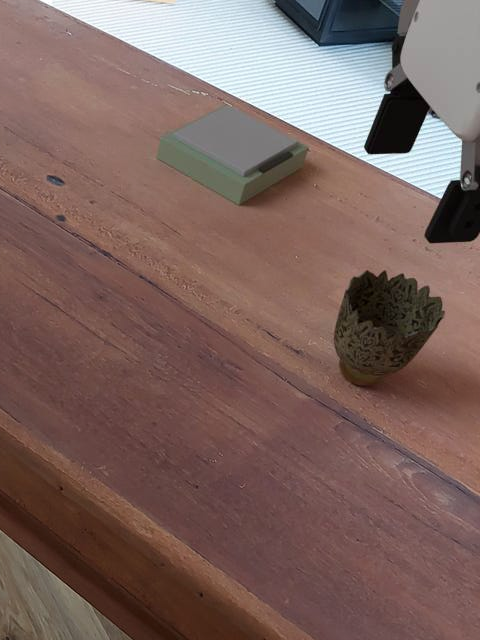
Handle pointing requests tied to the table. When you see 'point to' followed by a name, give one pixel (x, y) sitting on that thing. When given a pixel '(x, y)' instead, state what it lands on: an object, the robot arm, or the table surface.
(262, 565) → the table surface
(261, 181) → the scale
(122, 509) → the table surface
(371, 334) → the cup
